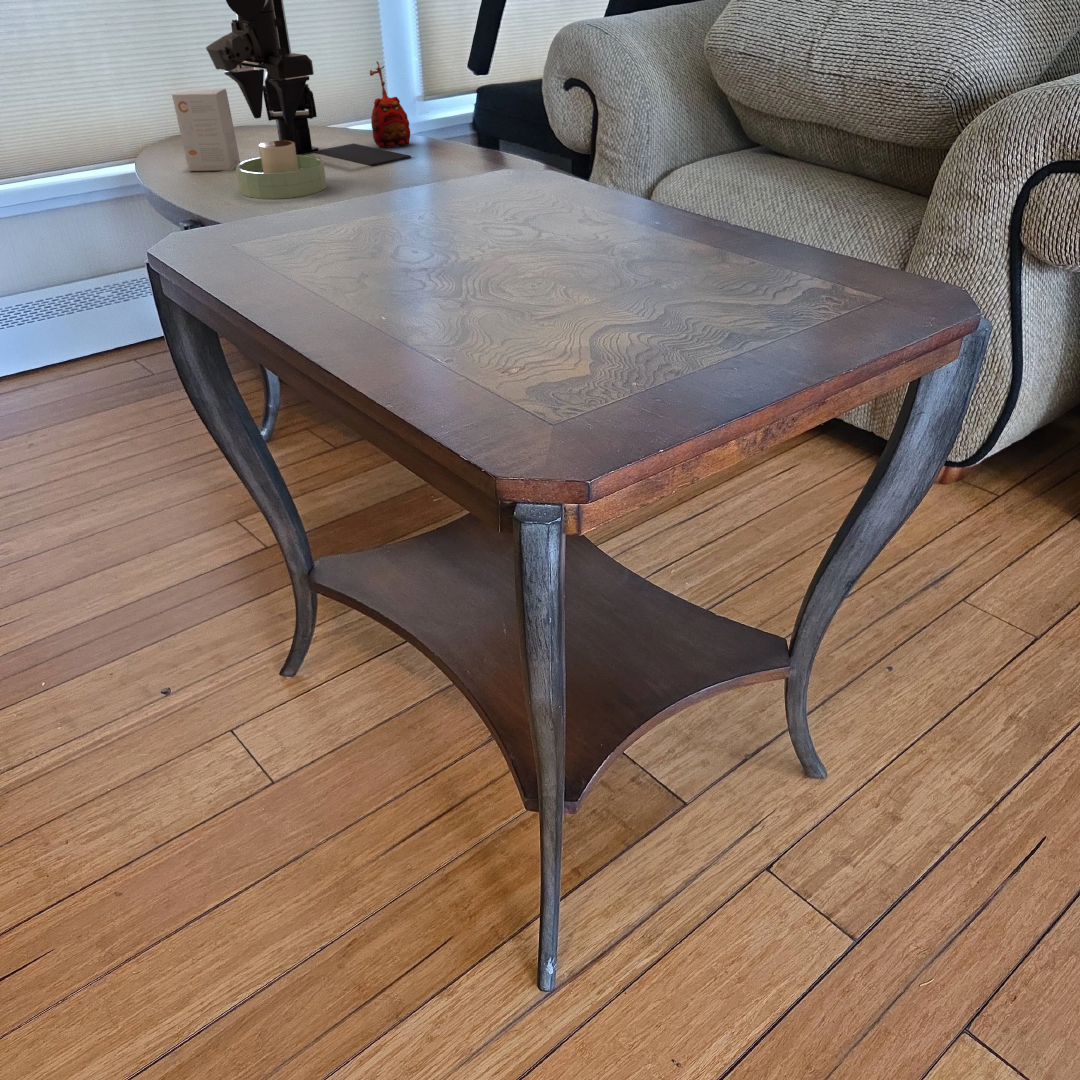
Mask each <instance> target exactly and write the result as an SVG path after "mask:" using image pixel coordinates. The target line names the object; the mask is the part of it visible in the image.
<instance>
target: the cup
mask: <svg viewBox="0 0 1080 1080" xmlns="http://www.w3.org/2000/svg"><path fill="white" fill-rule="evenodd" d="M258 150H259V155H260V156H259V157H261V162H262V168H263V173H281V172H291V171H298V170H299V168H298V161H297V155H296V148H295V143H294V142H292V141H279V140H270V141H264V142H261V143H259V144H258Z"/></svg>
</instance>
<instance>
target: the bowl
mask: <svg viewBox="0 0 1080 1080" xmlns="http://www.w3.org/2000/svg"><path fill="white" fill-rule="evenodd" d="M297 161H298V168H299V170H298V171H291V172H281V173H263V168H262V162H261V156H259V157H253V158H250V159H246V160H243V161H240V163H239V164H237V165H236V167H235V172H236V178H237V179H236V180H237V184H238V189H239V193H240V194H241V195H243V196H245V197H249V198H253V199H262V200H279V199H280V200H281V199H292V198H301V197H305V196H310V195H314V194H317V193H320V192H322V191H324V190H325V189H326V188H327V184H328V183H327V178H326V177H327V176H326V170H325V162H324V160H323V159H322V158H320V157H317V156H313V155H308V154H306V155H297Z"/></svg>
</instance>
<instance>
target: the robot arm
mask: <svg viewBox="0 0 1080 1080" xmlns="http://www.w3.org/2000/svg"><path fill="white" fill-rule="evenodd" d="M225 2H226V4H227V5H228V8H230V10H231V11H232V12H234V13H235V14H236V19H235V18H234V19H231V21H232V22H230V26H231V32H229V33H227V34H225V35H223V36H221V37H220V38H218V39H216V40H215V41H213V42H212V43H210V44H208V45H207V46H206V47H205V49H206V52H207V54H208V56H209V58H210V60H211V61H212V64H213V66H214V68H215V70H223V74H224V75H225V76H227V77H229V78H230V79H232V80H233V81H234V82H235V83H236V84H237V86H238V87H239V89H240V91H241V93H242V95H243V97H244V99H245V101H246V103H247V107H248V108H249V110H250V112H251V115H252V116H253V119H261V118H262V111H263V100H264V106H265V111H266V115H267V120H268V121H271V122H272V121H275V123H276V129H277V130H276V131H277V136H278V141H292V142H294V143H295V148H296V155H298V154H303V153H308V152H313V151H318V150H320V148H319V147H318V146H317V147H316V146H313V145H312V138H311V130H310V127H309V126H310V125H309V120H313V119H314V118H317V117H318V114H317V108H316V102H315V97H314V92H313V91H312V90H311V88H310V87H309V83H307V82H308V81H310V76H314V75H315V71H314V65H313V60H312V59H311V58H310V57H309V56H308V55H307V54H303V53H295V52H293V53H292V48H291V41H290V36H289V30H288V25H287V23H288V22H287V17H286V11H285V5H284V0H225ZM265 71H266V72H265Z"/></svg>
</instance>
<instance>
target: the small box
mask: <svg viewBox="0 0 1080 1080" xmlns="http://www.w3.org/2000/svg"><path fill="white" fill-rule="evenodd" d="M171 97H172V101H173V106H174V110H175V115H176V119H177V125H178V129H179V133H180V137H181V143H182V147H183V152H184V156H185V157H184V158H185V160H186V165H187V170H188V172H209V171H210V172H211V171H213V172H214V171H218V172H219V171H229V170H234V169H236V165H237V164H239V163H241V159H240V154H239V150H238V143H237V138H236V133H235V127H234V122H233V117H232V112H231V108H230V102H229V96H228V91H227V88H193V89H192V88H191V89H190V88H189V89H188V88H187V89H185V88H183V89H181V90H179V91H176V92H174V93H172V94H171Z"/></svg>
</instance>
